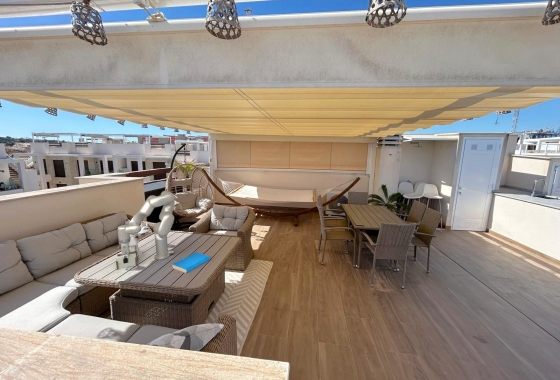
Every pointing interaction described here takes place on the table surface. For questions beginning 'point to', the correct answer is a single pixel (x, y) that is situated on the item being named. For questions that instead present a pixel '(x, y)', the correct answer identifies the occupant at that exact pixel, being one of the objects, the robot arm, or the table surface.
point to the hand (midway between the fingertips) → (126, 260)
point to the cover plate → (130, 261)
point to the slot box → (130, 253)
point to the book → (190, 262)
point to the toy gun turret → (134, 245)
